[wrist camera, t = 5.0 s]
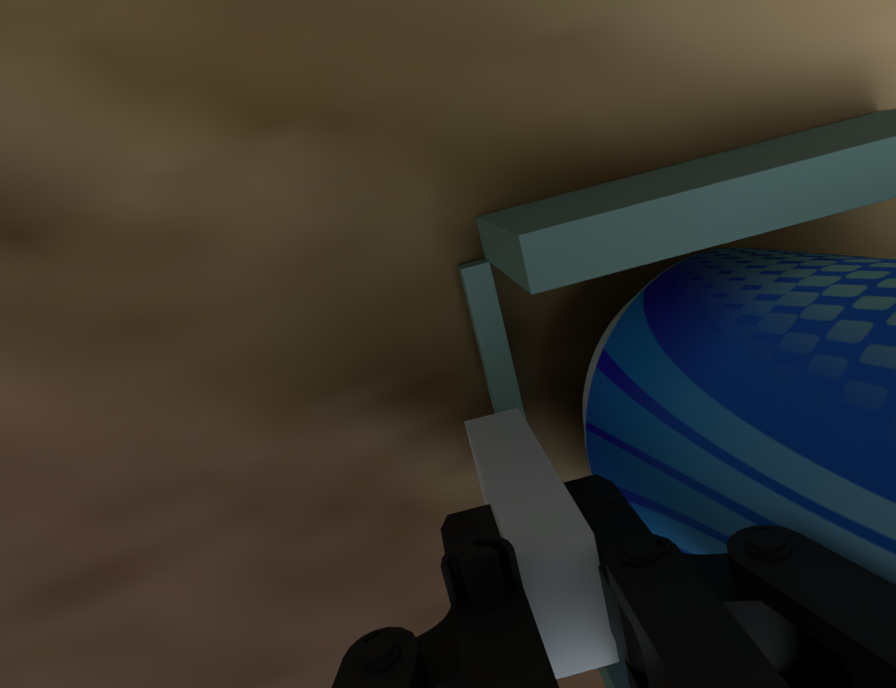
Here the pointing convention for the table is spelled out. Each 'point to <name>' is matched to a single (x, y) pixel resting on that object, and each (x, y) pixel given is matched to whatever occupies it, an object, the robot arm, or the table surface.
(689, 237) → the rack
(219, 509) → the table surface
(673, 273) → the beer can
